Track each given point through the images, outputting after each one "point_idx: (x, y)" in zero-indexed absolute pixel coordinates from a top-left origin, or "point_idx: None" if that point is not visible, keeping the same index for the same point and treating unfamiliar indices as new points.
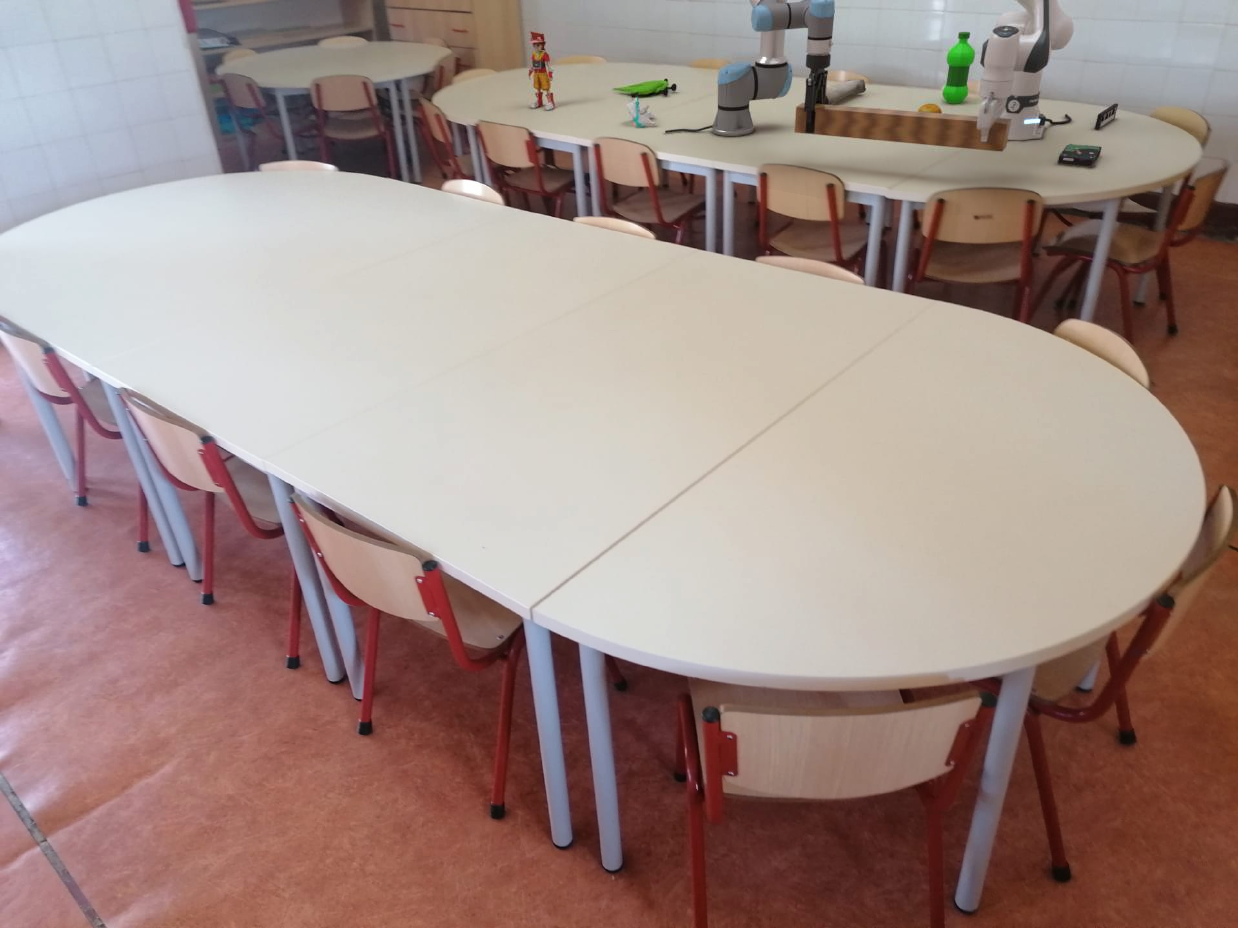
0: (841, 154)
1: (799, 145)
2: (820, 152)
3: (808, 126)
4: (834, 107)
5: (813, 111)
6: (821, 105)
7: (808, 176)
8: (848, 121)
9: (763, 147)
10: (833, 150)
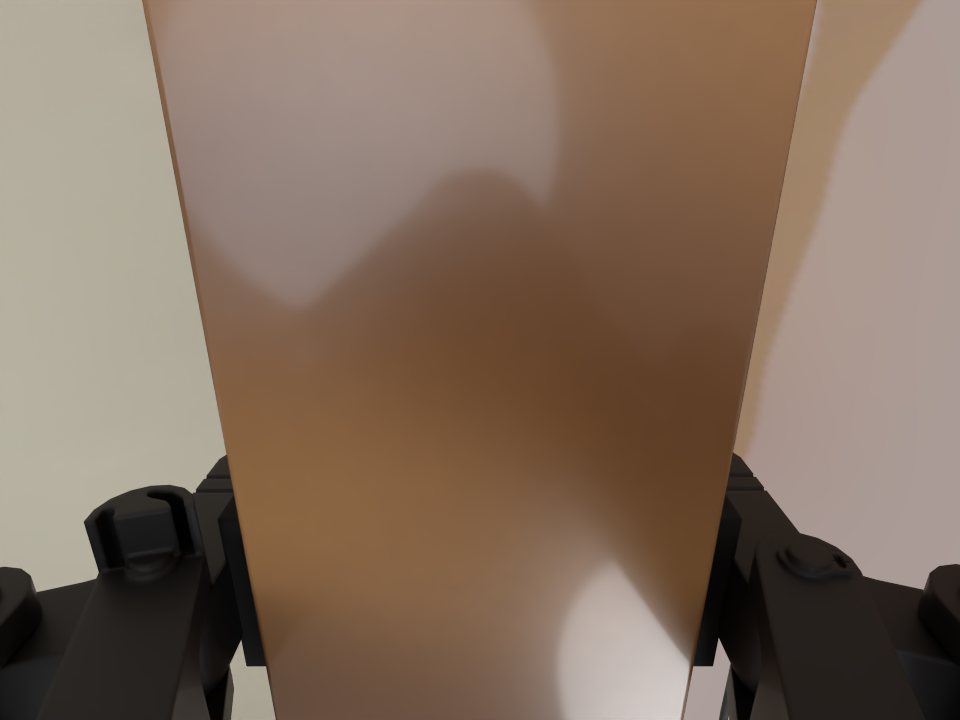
0: (118, 137)
1: (88, 511)
2: (161, 322)
3: None
4: (472, 99)
5: (821, 552)
6: (365, 548)
7: (806, 186)
8: None
9: (253, 673)
10: (53, 244)
